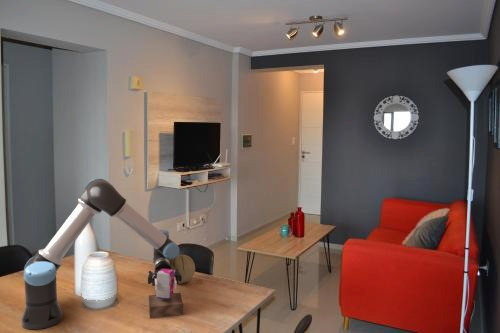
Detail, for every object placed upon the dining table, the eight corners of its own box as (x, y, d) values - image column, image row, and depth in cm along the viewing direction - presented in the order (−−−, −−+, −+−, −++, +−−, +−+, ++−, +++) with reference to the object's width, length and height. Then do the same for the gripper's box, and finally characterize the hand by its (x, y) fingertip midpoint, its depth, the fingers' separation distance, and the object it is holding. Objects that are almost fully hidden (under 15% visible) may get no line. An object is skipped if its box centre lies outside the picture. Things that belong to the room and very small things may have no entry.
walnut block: (149, 318, 177) (149, 307, 177) (148, 306, 189) (148, 295, 188) (183, 314, 181) (183, 303, 181) (180, 303, 193) (180, 292, 192)
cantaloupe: (182, 290, 207) (182, 260, 205) (160, 284, 214) (160, 255, 213) (201, 280, 219) (201, 253, 218) (179, 275, 227) (179, 248, 225)
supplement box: (169, 299, 181) (168, 274, 180) (156, 298, 182) (155, 272, 181) (174, 294, 187) (174, 269, 185) (161, 293, 188) (161, 268, 186)
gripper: (184, 273, 204) (190, 292, 182) (140, 277, 199) (141, 297, 177) (184, 258, 203) (190, 275, 181) (140, 262, 198) (141, 279, 176)
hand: (166, 286), depth 179 cm, fingers closed on supplement box, 7 cm apart
